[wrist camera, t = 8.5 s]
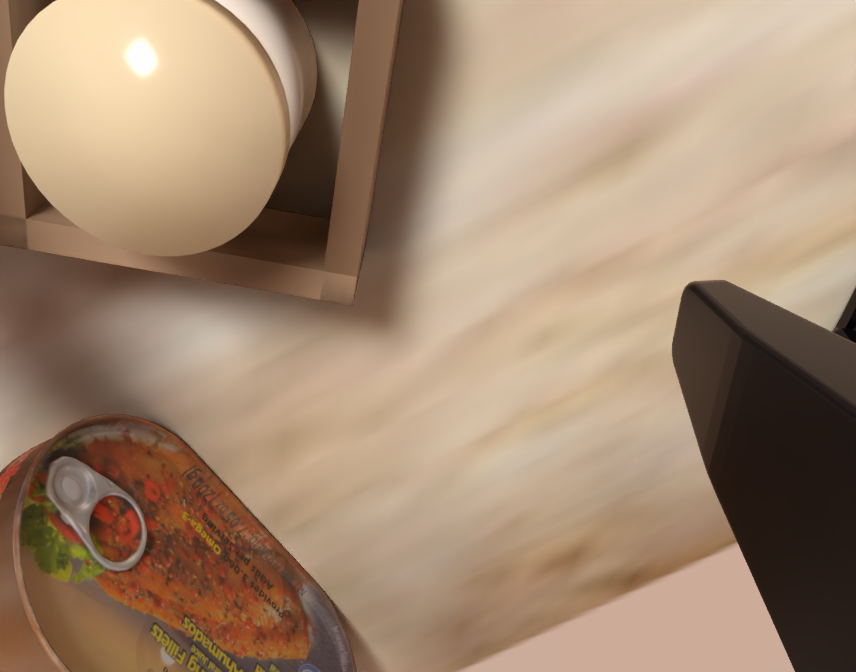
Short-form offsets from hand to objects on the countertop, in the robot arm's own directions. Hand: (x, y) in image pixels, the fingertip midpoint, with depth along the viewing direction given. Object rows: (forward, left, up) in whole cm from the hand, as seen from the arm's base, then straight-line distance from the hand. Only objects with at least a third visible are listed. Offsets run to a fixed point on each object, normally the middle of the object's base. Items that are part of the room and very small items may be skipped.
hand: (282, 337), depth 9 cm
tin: (+3, +17, -13) cm, 21 cm away
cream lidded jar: (+4, +1, -13) cm, 13 cm away
